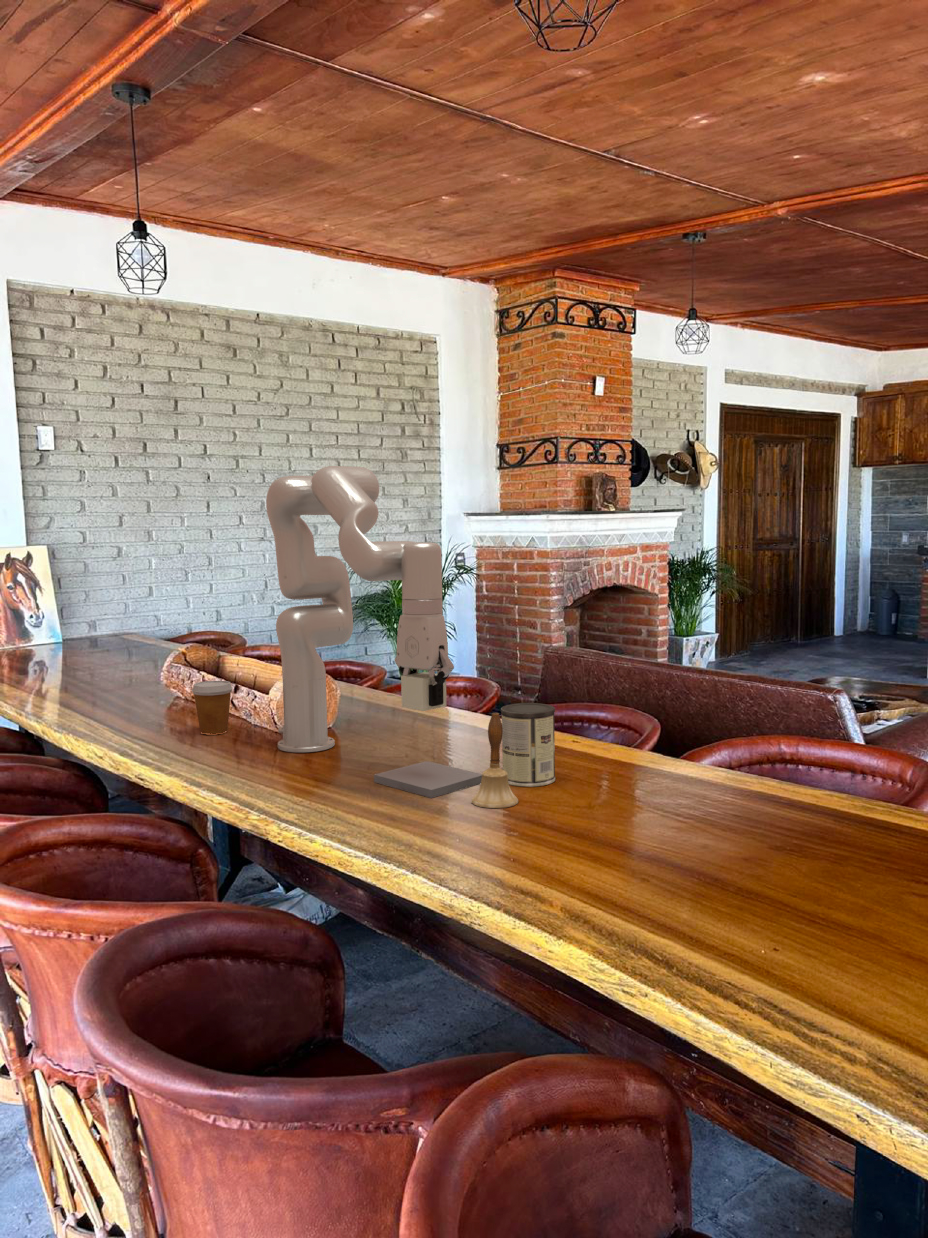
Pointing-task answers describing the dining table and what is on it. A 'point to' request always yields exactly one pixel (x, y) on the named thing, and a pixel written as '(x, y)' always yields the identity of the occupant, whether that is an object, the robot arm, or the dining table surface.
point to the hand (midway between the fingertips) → (424, 702)
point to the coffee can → (528, 744)
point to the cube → (418, 692)
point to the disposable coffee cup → (212, 705)
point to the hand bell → (495, 774)
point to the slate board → (428, 779)
